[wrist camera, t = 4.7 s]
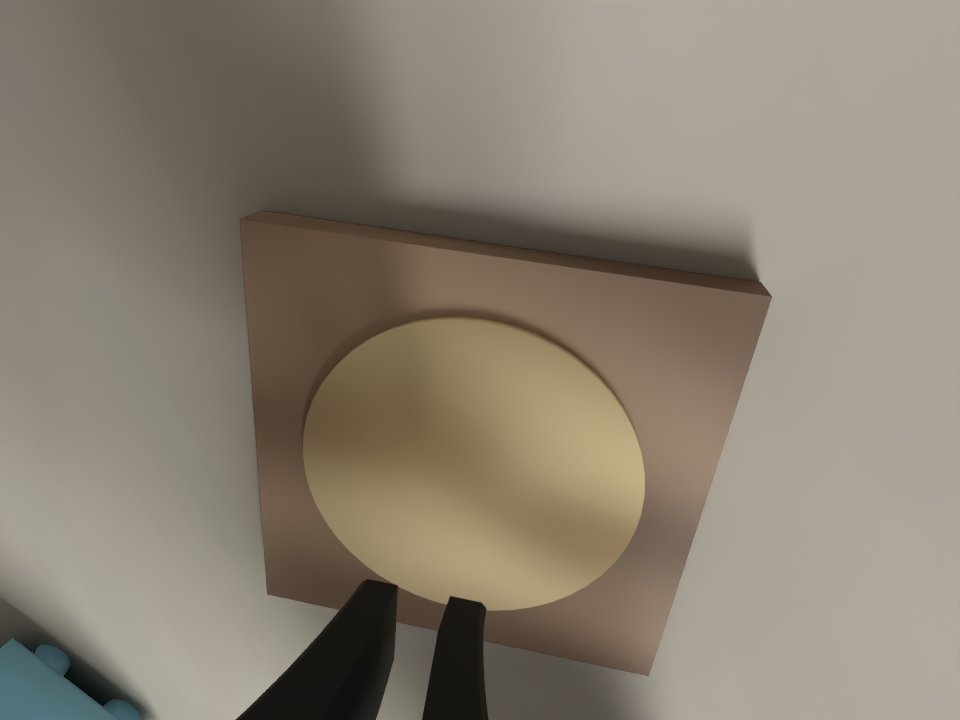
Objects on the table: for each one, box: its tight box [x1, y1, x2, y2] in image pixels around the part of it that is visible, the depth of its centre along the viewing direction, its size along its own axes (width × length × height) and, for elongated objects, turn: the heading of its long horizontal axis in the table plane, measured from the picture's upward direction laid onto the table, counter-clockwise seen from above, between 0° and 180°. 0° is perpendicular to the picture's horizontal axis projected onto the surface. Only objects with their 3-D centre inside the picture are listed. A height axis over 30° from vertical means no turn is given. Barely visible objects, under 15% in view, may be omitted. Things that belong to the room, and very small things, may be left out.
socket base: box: [240, 211, 772, 676], centre depth 17 cm, size 12×12×1 cm
